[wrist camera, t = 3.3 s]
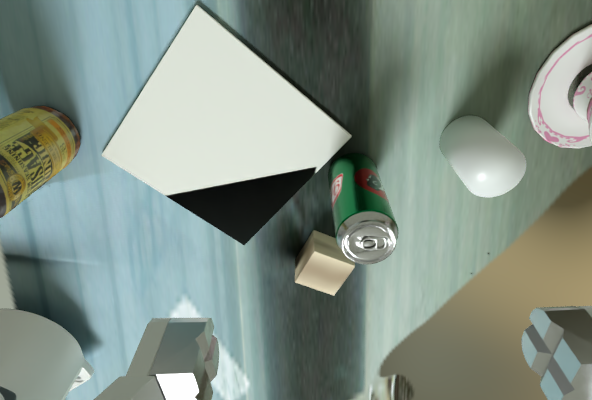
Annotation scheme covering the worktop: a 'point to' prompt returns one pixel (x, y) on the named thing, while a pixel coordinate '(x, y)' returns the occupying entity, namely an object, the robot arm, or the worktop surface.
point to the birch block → (322, 264)
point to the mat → (223, 131)
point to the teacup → (564, 94)
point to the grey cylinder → (482, 156)
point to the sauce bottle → (33, 151)
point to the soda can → (361, 210)
